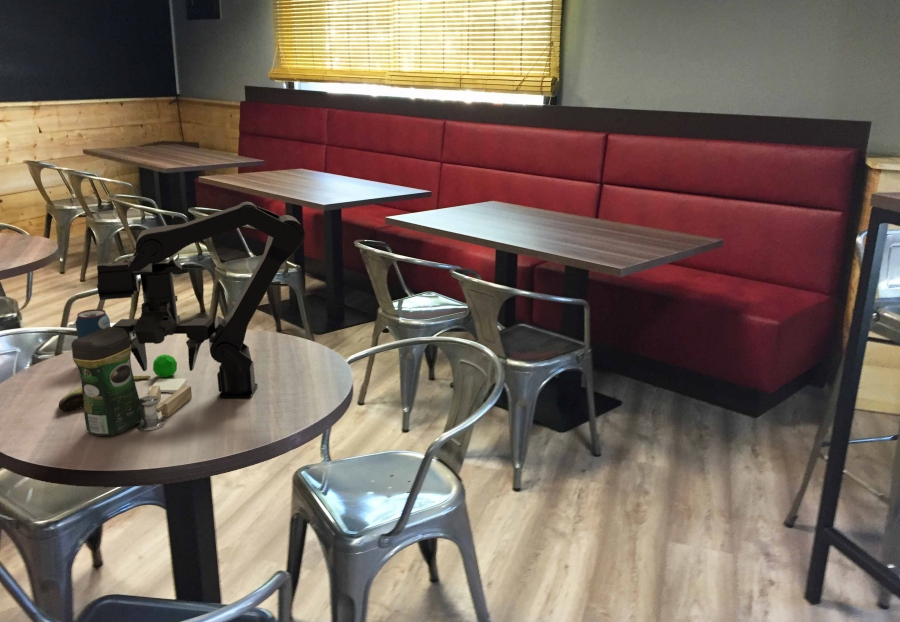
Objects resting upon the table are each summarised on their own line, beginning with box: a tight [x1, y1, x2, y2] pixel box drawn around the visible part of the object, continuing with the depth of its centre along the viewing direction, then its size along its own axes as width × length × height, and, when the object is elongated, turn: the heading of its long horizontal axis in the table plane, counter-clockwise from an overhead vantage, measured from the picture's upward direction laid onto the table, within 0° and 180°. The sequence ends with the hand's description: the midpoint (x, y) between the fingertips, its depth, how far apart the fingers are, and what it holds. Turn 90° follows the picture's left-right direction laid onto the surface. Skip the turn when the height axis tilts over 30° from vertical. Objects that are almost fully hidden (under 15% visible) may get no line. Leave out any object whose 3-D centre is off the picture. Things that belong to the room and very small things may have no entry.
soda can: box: [75, 308, 111, 339], centre depth 167 cm, size 7×7×12 cm
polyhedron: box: [152, 354, 178, 379], centre depth 161 cm, size 5×5×5 cm
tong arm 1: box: [147, 385, 162, 406], centre depth 144 cm, size 2×11×3 cm, turn 12°
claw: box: [58, 375, 151, 413], centre depth 152 cm, size 20×10×3 cm, turn 168°
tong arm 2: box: [157, 384, 193, 417], centre depth 144 cm, size 2×11×3 cm, turn 170°
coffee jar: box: [71, 326, 143, 437], centre depth 135 cm, size 10×8×19 cm
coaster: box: [147, 378, 188, 394], centre depth 155 cm, size 6×6×1 cm
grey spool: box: [136, 395, 166, 432], centre depth 138 cm, size 5×5×5 cm
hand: (168, 370), depth 147 cm, fingers open, 9 cm apart
